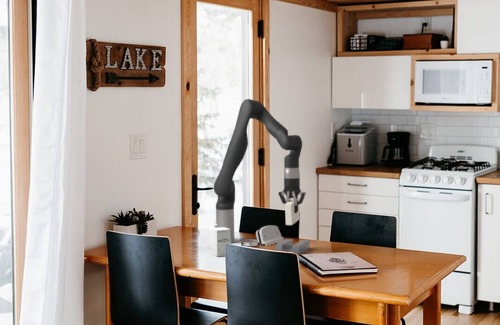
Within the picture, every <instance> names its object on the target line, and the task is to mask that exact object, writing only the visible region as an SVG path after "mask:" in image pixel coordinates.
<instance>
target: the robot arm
mask: <svg viewBox="0 0 500 325" xmlns="http://www.w3.org/2000/svg"><path fill="white" fill-rule="evenodd" d="M251 119H252V120H257V121H259V122H261V123H262V124H263V125H264V127H265V129H266V131H267V132H268V134H270V135H271V136H272V137H273V138H275V140H276V142H277V143H278V144H279V146H280V147H281V149H283V150H285V151H289V153H288V154H287V155H285V156H284V158H283V159H284V160H283V161H284V162H283V164H284V167H283V168H284V169H283V190H281V191H278V197H279V199H280V201H281V203H282V204H283V205H285V204H286V203H288V202H289V201H291V200H292V199H293V200H294V204H295V206H294V212H295V213H297V212H298V205H299V206H300V205H302V204H303V202H304V199H305V196H306V194H307V193H306V192H304V191H302V190H301V181H300V178H301V175H300V174H301V173H300V156H301V151H302V148H303V141H302V138H301V136H300V135H298V134H293V135H290V134H289V131H288V129H287V128H286V127H285V126H284V125H283V124H281V123H280V122H279V121H278V120H277V119H276V118H275V117H273V115H272V114H271V113H270V112H269V110H267V108H266V107H265V106H264V104H263V103H261V101H258V100H254V99H250V98H246V99H244V100H243V101H242V102H241V104H240V107H239V110H238V114H237V118H236V122H235V126H234V129H233V132H232V136H231V137H230V140H229V143H228V146H227V149H226V153H225V156H224V159H223V162H222V165H221V168H220V170H219V173H218V175H217V177H216V179H215V181H214V183H213V191H214V193H215V195H216V196H217V200H216V203H215V220H216V221H215V223H214V228H221V227H225V228H229V229H230V241H231V244H232V243H235V202H236V184H235V182H234V180H233V179H234V175H235V174H236V171H237V169H238V168H239V166H240V165H241V163H242V161H243V159H244V158H245V155H246V152H247V150H248V146H249V139H248V126H249V123H250V120H251ZM299 195H300V197H298V196H299ZM285 196H286V198H285ZM298 199H299V202H298Z"/></svg>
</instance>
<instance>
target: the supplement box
mask: <svg viewBox="0 0 500 325" xmlns="http://www.w3.org/2000/svg"><path fill="white" fill-rule="evenodd" d="M209 229H210V233H209V234H210V235H209V236H210V237H209V238H210V255H211V256H214V257H226V256H225V245H226V244H232V243H231V241H230V229H229V228H225V227H221V228H215V227H211V228H209Z"/></svg>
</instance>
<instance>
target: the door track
mask: <svg viewBox="0 0 500 325" xmlns="http://www.w3.org/2000/svg"><path fill="white" fill-rule="evenodd" d="M310 242H311V241H310V240H309V239H301V240H300V241H298V242H296V243H294V239H292V238H284V240H283V241H281V242H279V243H277V244H274V245H275V246H274V248H275V249H274V251H275V250H278V251H286V252H294V253H297V254H296V255H301V254H303V253H304V252H306V251H308V250H310V249H311V248H310V247H311V246H310Z"/></svg>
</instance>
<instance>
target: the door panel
mask: <svg viewBox="0 0 500 325" xmlns="http://www.w3.org/2000/svg"><path fill="white" fill-rule="evenodd" d="M299 200H300V198H298V202H299ZM284 206H285V207H284V211H285V212H284V213H285V215H284V216H285V226H293V225H294V224H296V223H297V222H298V221H299V220H301V219H300V218H301V217H300V204H299V205H298V212H297V213H295V212H294V206H295V204H294V200H293V198H291V200H290V201H289V202H288V203H286V204H284Z"/></svg>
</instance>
